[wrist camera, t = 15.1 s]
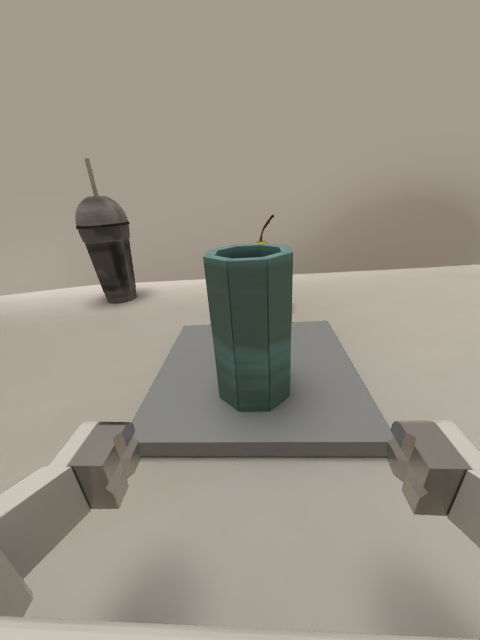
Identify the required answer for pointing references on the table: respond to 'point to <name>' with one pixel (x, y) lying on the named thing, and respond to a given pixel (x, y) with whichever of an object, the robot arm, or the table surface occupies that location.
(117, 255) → the beverage cup
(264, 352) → the sleeve
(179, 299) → the table surface
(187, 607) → the table surface
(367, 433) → the pin board
